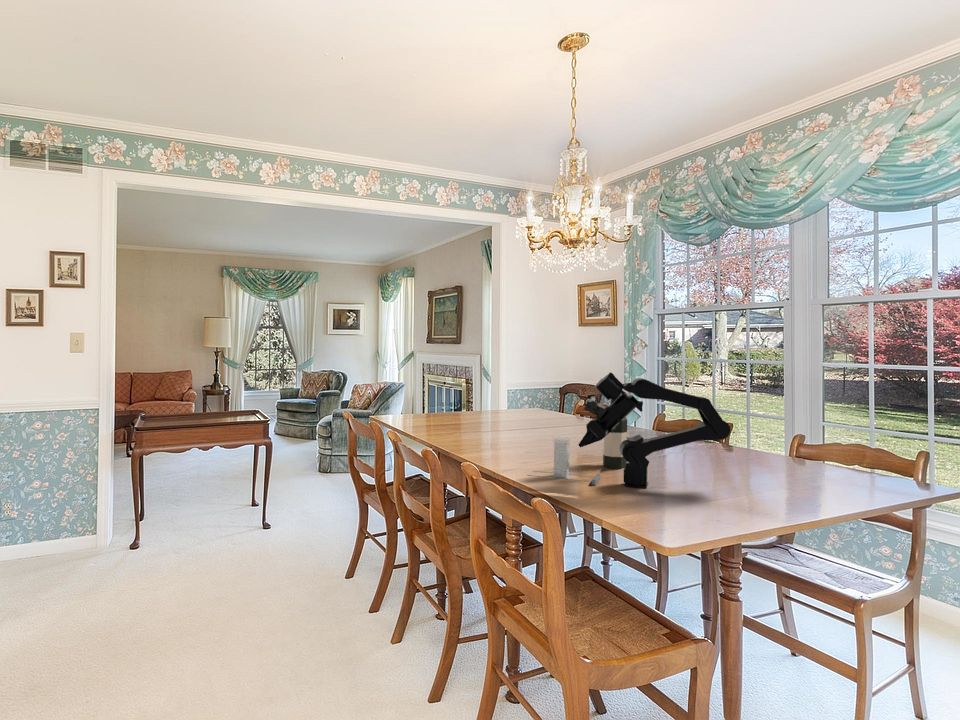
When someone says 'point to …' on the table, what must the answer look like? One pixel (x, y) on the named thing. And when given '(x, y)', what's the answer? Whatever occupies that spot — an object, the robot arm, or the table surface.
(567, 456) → the post
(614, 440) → the wine bottle
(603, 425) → the robot arm
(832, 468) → the table surface
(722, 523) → the table surface
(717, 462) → the table surface
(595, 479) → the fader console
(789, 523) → the table surface
